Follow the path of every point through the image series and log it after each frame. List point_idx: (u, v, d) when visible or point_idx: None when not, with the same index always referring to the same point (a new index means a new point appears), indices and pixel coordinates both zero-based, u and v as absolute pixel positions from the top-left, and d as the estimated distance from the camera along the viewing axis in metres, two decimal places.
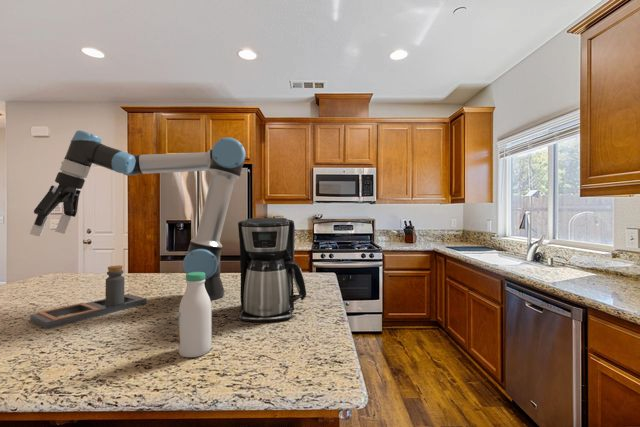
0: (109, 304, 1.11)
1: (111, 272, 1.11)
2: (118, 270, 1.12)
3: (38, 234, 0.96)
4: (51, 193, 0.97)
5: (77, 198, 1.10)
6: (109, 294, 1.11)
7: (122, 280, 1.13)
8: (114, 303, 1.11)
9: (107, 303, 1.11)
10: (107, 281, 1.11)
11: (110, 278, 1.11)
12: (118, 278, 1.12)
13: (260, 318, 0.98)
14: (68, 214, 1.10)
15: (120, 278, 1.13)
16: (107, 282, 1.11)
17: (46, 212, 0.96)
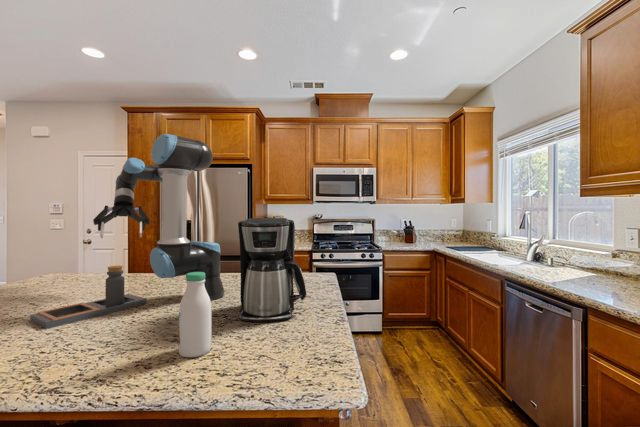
0: (109, 304, 1.11)
1: (111, 272, 1.11)
2: (118, 270, 1.12)
3: (100, 233, 1.22)
4: None
5: (140, 210, 1.36)
6: (109, 294, 1.11)
7: (122, 280, 1.13)
8: (114, 303, 1.11)
9: (107, 303, 1.11)
10: (107, 281, 1.11)
11: (110, 278, 1.11)
12: (118, 278, 1.12)
13: (260, 318, 0.98)
14: None
15: (120, 278, 1.13)
16: (107, 282, 1.11)
17: (99, 220, 1.26)
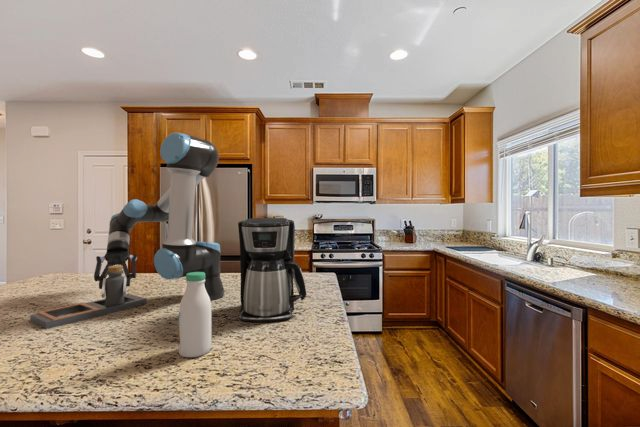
0: (109, 304, 1.11)
1: (111, 272, 1.11)
2: (118, 270, 1.12)
3: (101, 293, 1.08)
4: None
5: (133, 260, 1.21)
6: (109, 294, 1.11)
7: (122, 280, 1.13)
8: (114, 303, 1.11)
9: (107, 303, 1.11)
10: (107, 281, 1.11)
11: (110, 278, 1.11)
12: (118, 278, 1.12)
13: (260, 318, 0.98)
14: (126, 277, 1.16)
15: (120, 278, 1.13)
16: (107, 282, 1.11)
17: (100, 276, 1.12)
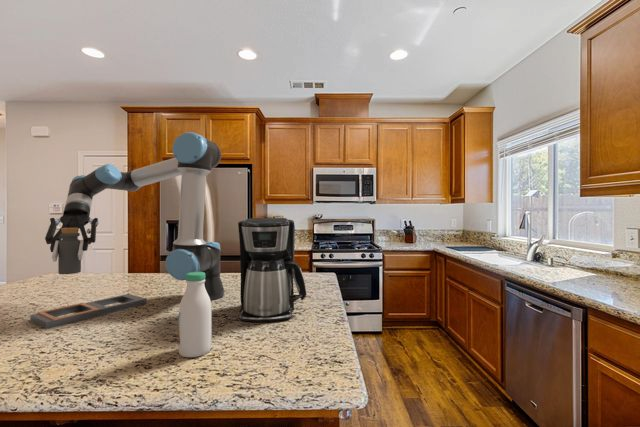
0: (62, 269, 0.99)
1: (64, 233, 0.99)
2: (73, 232, 1.00)
3: (52, 255, 0.96)
4: None
5: (93, 223, 1.09)
6: (62, 258, 0.99)
7: (78, 243, 1.01)
8: (68, 268, 0.99)
9: (60, 268, 0.99)
10: (60, 243, 0.99)
11: (63, 240, 0.99)
12: (73, 240, 1.00)
13: (260, 318, 0.98)
14: None
15: (75, 241, 1.01)
16: (60, 244, 0.99)
17: (52, 238, 1.00)
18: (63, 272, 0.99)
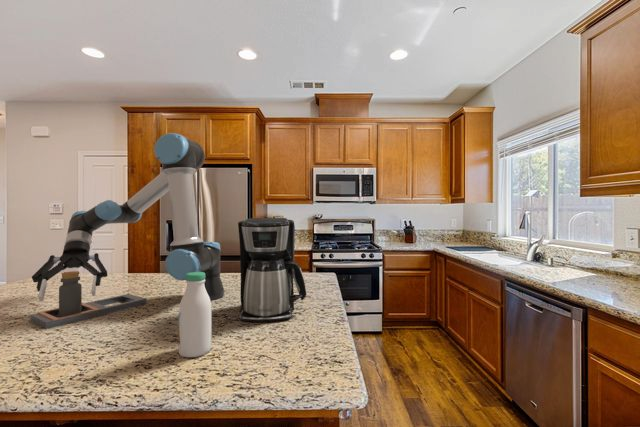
0: (62, 315, 0.99)
1: (65, 279, 0.99)
2: (73, 277, 1.01)
3: None
4: None
5: (96, 259, 1.10)
6: (63, 304, 0.99)
7: (78, 288, 1.01)
8: (68, 314, 0.99)
9: (60, 314, 0.99)
10: (60, 289, 0.99)
11: (64, 286, 0.99)
12: (73, 285, 1.00)
13: (260, 318, 0.98)
14: (96, 276, 1.07)
15: (76, 286, 1.01)
16: (60, 290, 0.99)
17: (40, 276, 1.00)
18: None
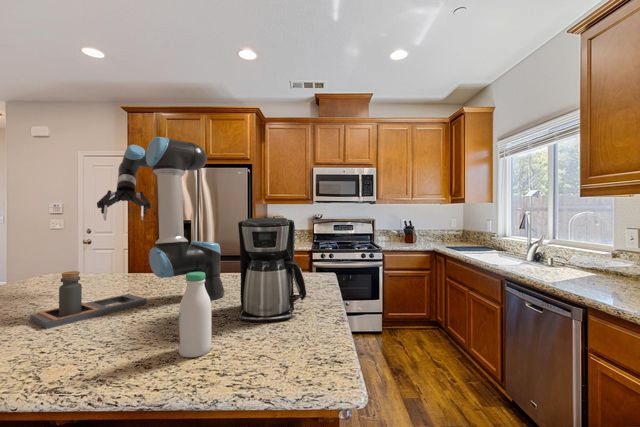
0: (62, 315, 0.99)
1: (65, 279, 0.99)
2: (73, 277, 1.01)
3: None
4: None
5: (142, 195, 1.42)
6: (63, 304, 0.99)
7: (78, 288, 1.01)
8: (68, 314, 0.99)
9: (60, 314, 0.99)
10: (60, 289, 0.99)
11: (64, 286, 0.99)
12: (73, 285, 1.00)
13: (260, 318, 0.98)
14: None
15: (76, 286, 1.01)
16: (60, 290, 0.99)
17: (103, 203, 1.31)
18: None
